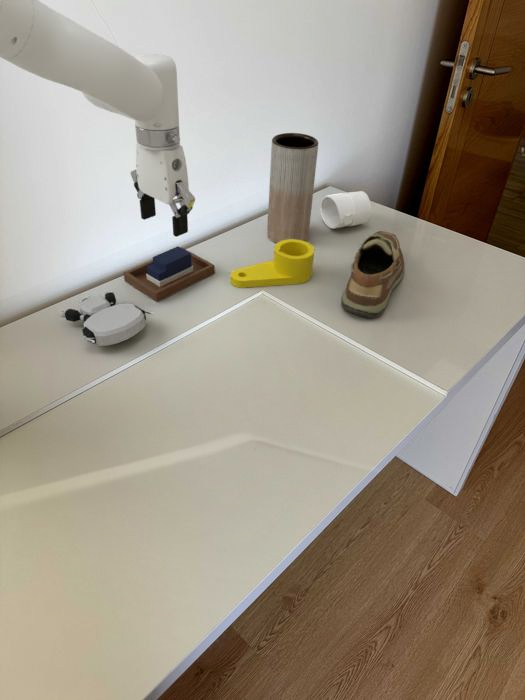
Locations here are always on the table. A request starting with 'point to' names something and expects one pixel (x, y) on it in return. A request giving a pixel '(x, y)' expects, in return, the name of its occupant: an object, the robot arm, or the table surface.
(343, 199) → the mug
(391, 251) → the boat shoe
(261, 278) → the crank
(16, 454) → the table surface
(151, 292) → the tray
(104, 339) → the robot toy
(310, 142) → the planter
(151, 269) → the navy stepped block
